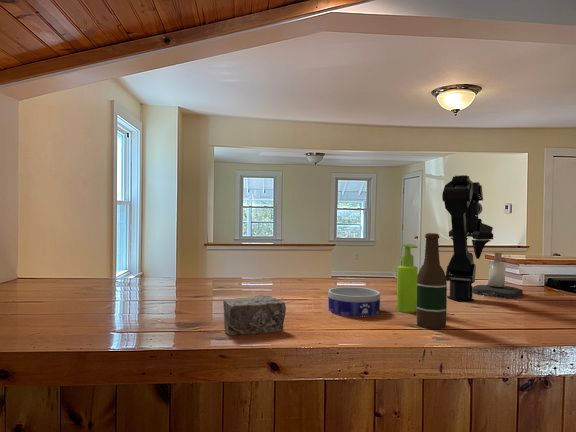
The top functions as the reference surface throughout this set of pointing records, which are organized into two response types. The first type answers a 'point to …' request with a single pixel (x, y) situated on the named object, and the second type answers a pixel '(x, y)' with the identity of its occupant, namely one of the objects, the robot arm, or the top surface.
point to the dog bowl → (354, 301)
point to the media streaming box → (498, 291)
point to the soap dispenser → (407, 282)
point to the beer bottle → (431, 288)
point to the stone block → (253, 315)
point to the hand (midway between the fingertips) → (469, 257)
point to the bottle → (497, 271)
